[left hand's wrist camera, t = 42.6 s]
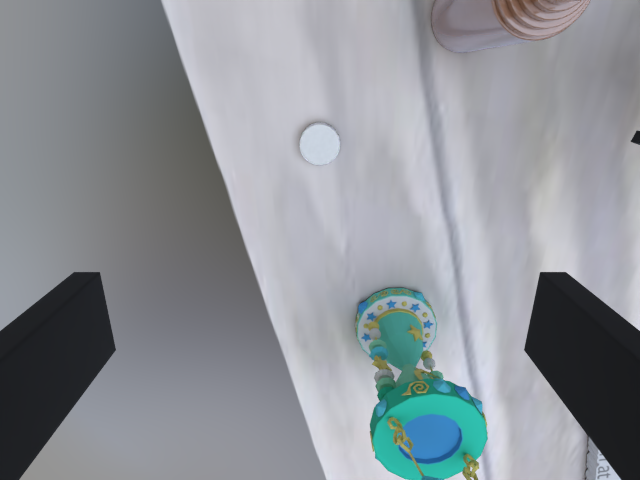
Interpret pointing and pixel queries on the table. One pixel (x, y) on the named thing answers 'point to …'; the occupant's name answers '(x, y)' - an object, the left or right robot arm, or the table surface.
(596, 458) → the decorative sign
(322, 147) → the cap
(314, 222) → the table surface
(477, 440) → the decorative hourglass
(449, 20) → the bottle
